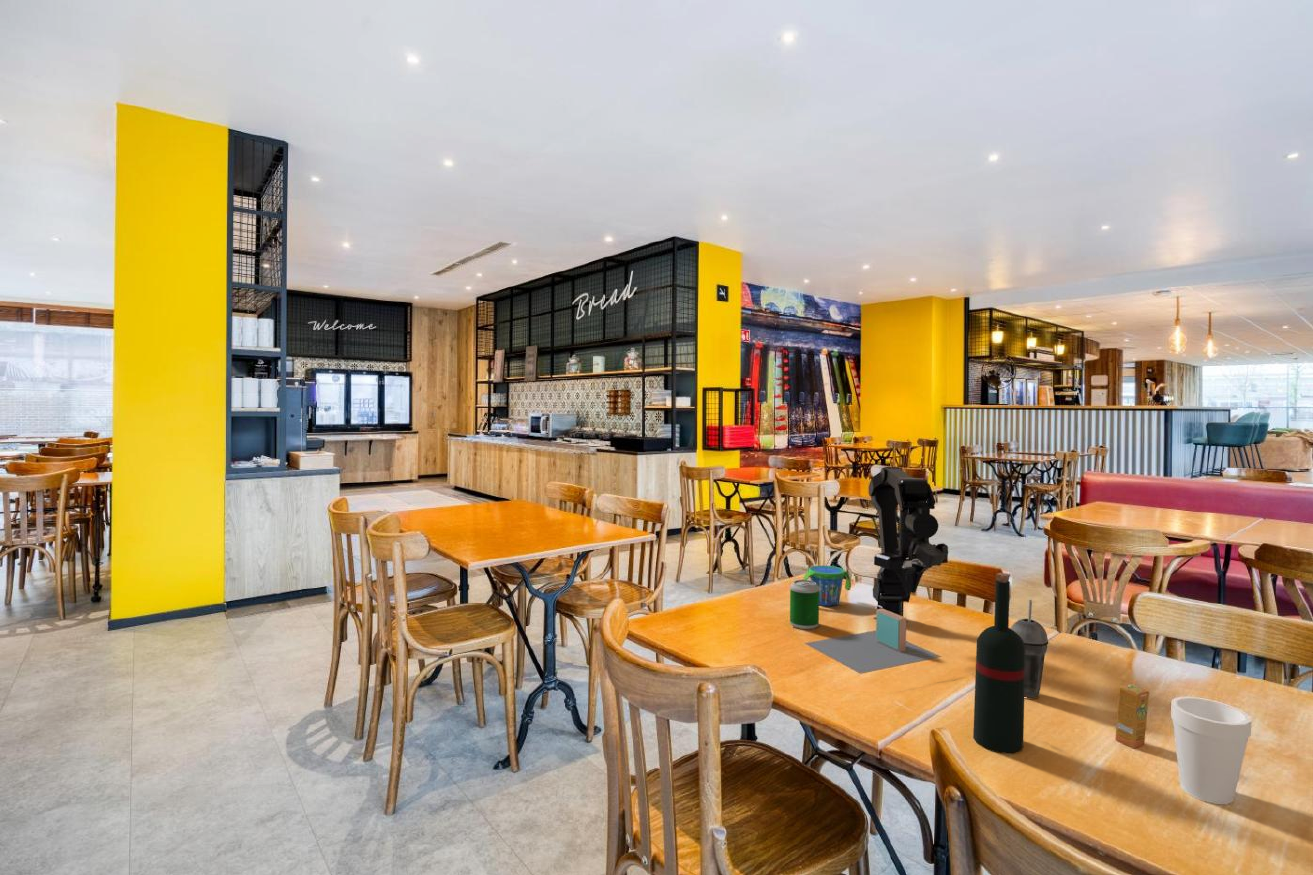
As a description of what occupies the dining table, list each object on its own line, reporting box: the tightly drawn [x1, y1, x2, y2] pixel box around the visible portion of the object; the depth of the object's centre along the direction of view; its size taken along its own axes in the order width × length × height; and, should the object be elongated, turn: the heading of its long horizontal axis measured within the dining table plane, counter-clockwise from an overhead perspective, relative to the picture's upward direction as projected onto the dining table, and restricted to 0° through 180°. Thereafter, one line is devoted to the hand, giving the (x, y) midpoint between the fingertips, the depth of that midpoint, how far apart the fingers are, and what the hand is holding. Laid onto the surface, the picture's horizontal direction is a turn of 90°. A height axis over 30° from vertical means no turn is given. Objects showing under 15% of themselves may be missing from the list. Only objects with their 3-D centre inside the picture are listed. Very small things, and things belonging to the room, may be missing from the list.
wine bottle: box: [972, 572, 1026, 755], centre depth 118 cm, size 8×10×30 cm
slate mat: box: [804, 630, 942, 674], centre depth 161 cm, size 24×20×1 cm
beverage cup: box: [1009, 599, 1050, 699], centre depth 137 cm, size 7×7×20 cm
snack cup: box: [802, 564, 852, 607], centre depth 199 cm, size 16×10×10 cm
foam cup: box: [1170, 696, 1252, 805], centre depth 103 cm, size 10×9×13 cm
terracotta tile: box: [875, 608, 907, 652], centre depth 163 cm, size 2×8×8 cm, turn 24°
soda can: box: [789, 579, 820, 630], centre depth 178 cm, size 8×8×12 cm
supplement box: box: [1115, 683, 1150, 749], centre depth 118 cm, size 3×3×10 cm
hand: (910, 592), depth 165 cm, fingers closed
